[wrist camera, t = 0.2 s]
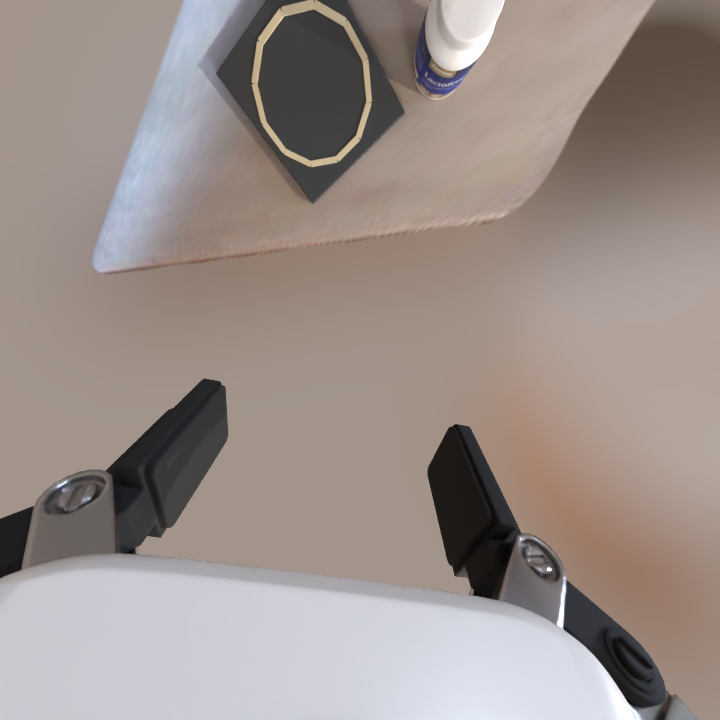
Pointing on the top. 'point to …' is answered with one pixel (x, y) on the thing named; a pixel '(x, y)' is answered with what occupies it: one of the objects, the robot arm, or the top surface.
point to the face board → (311, 88)
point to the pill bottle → (452, 43)
